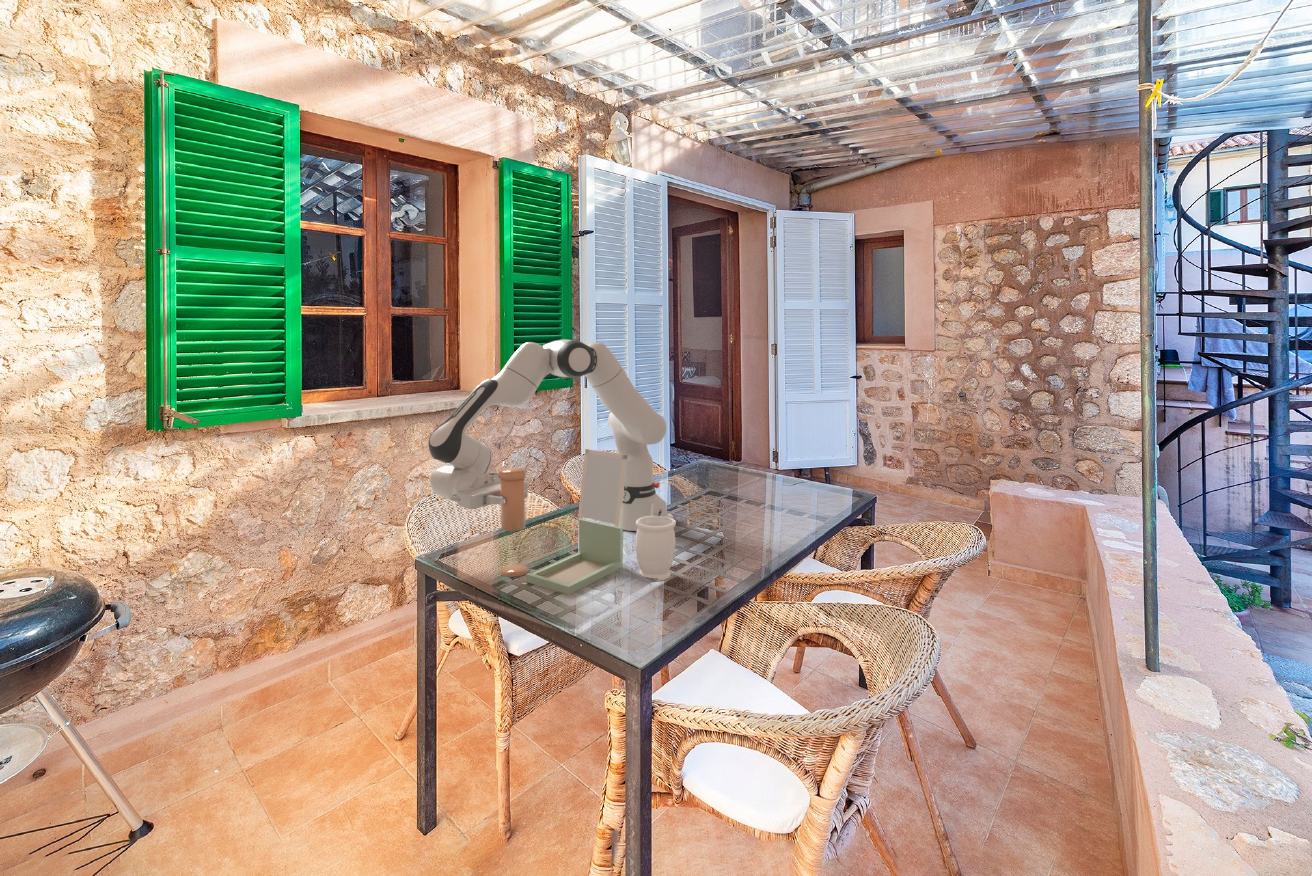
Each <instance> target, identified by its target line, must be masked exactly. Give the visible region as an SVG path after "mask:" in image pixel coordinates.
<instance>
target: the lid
mask: <svg viewBox="0 0 1312 876" xmlns="http://www.w3.org/2000/svg"><path fill="white" fill-rule="evenodd" d="M627 457H628V455H624V454H618V453H617V452H609V451H604V450H603V451H602V450H596V449H590V448H585V450H584V461H583V468H582V478H581V485H580V496H579V505H578V515H577V519H588V520H589V519H590V520H593V521H597V522H598V521H599V522H602V523H606V524H611V525H613V524H615V526H616V527H620V520H621V511H622V502H623V493H624V484H625V475H626V466H627Z"/></svg>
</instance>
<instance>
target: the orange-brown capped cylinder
mask: <svg viewBox="0 0 1312 876" xmlns="http://www.w3.org/2000/svg"><path fill="white" fill-rule="evenodd" d="M498 473H499V478H500V481H501V496H503V497H506V498H507V500H506V501H507V503H506V504H503V505H500V514H501V515H500V517H501V518H500V521H501V522H500V523H501V525H500V527H501V528H500V529H501V530H503V531H505V532H506V531H507V532H518V531H522V530H525V529H526V499H525V480H526V478H527V470H526V468H520V467H507V468H501V469H499V470H498Z"/></svg>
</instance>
